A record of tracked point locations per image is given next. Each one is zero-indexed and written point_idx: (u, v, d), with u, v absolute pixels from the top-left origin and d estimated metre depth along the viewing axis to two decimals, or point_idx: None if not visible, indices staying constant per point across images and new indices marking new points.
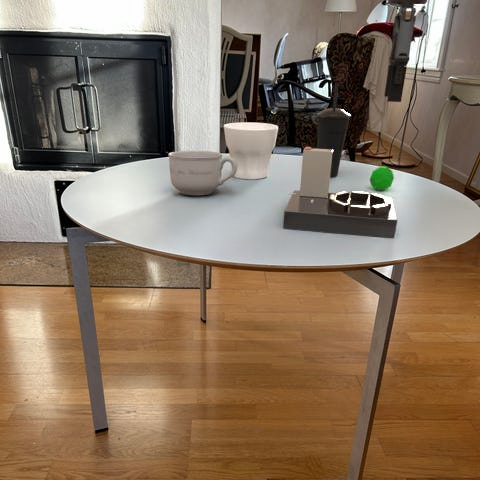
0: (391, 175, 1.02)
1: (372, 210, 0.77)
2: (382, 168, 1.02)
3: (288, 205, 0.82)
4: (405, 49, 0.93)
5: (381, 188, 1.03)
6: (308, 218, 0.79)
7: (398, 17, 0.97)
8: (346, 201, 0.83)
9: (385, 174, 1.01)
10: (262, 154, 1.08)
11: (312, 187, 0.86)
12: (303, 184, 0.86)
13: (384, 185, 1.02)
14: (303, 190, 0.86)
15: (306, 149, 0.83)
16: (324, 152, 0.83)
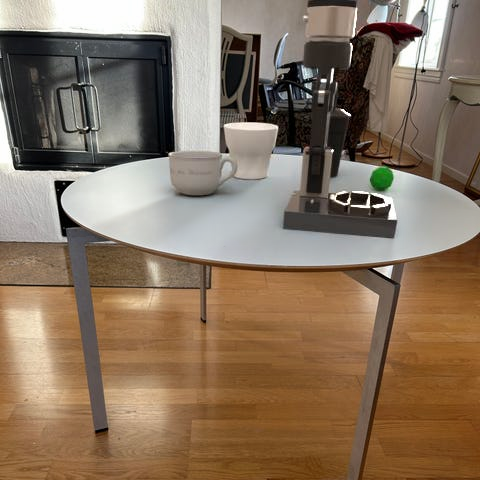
0: (391, 175, 1.02)
1: (372, 210, 0.77)
2: (382, 168, 1.02)
3: (288, 205, 0.82)
4: (319, 141, 0.78)
5: (381, 188, 1.03)
6: (308, 218, 0.79)
7: (315, 84, 0.77)
8: (346, 201, 0.83)
9: (385, 174, 1.01)
10: (262, 154, 1.08)
11: None
12: (303, 184, 0.86)
13: (384, 185, 1.02)
14: (303, 190, 0.86)
15: (306, 149, 0.83)
16: None
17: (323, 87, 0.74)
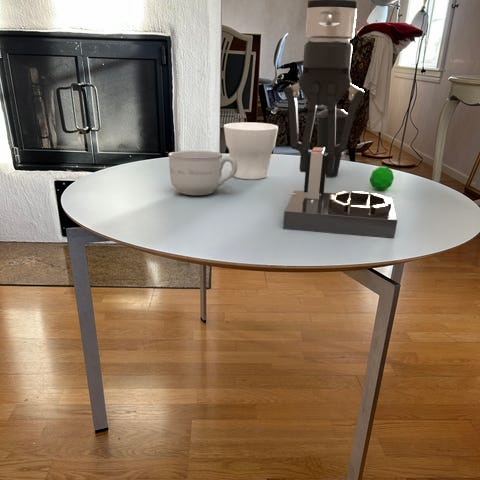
0: (391, 175, 1.02)
1: (372, 210, 0.77)
2: (382, 168, 1.02)
3: (288, 205, 0.82)
4: None
5: (381, 188, 1.03)
6: (308, 218, 0.79)
7: (335, 85, 0.77)
8: (346, 201, 0.83)
9: (385, 174, 1.01)
10: (262, 154, 1.08)
11: None
12: (319, 186, 0.85)
13: (384, 185, 1.02)
14: None
15: (322, 151, 0.82)
16: (324, 150, 0.84)
17: (356, 87, 0.78)
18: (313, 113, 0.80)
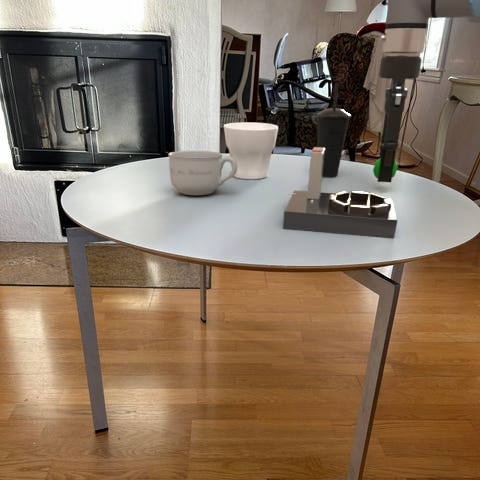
0: (395, 165, 1.00)
1: (372, 210, 0.77)
2: None
3: (288, 205, 0.82)
4: (394, 137, 0.93)
5: None
6: (308, 218, 0.79)
7: (389, 91, 0.94)
8: (346, 201, 0.83)
9: None
10: (262, 154, 1.08)
11: (320, 186, 0.86)
12: (319, 186, 0.85)
13: None
14: (319, 192, 0.85)
15: (322, 151, 0.82)
16: (324, 150, 0.84)
17: (399, 91, 0.91)
18: (386, 113, 0.99)
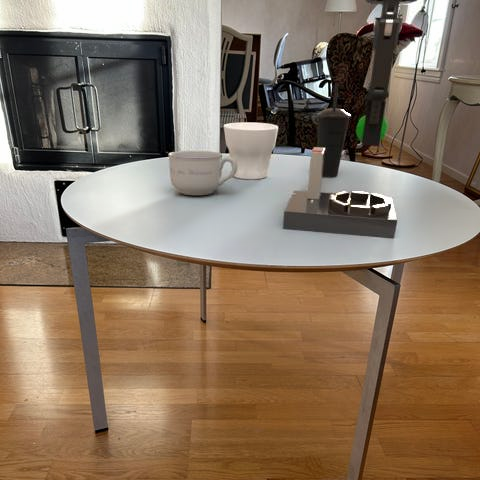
0: (384, 123, 0.77)
1: (372, 210, 0.77)
2: None
3: (288, 205, 0.82)
4: (382, 81, 0.70)
5: None
6: (308, 218, 0.79)
7: (378, 20, 0.70)
8: (346, 201, 0.83)
9: None
10: (262, 154, 1.08)
11: (320, 186, 0.86)
12: (319, 186, 0.85)
13: None
14: (319, 192, 0.85)
15: (322, 151, 0.82)
16: (324, 150, 0.84)
17: (390, 17, 0.67)
18: None
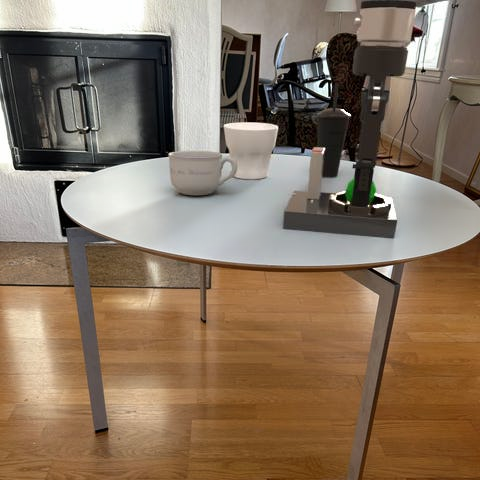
0: (372, 188, 0.78)
1: (372, 210, 0.77)
2: None
3: (288, 205, 0.82)
4: (370, 153, 0.71)
5: None
6: (308, 218, 0.79)
7: (365, 92, 0.71)
8: (346, 201, 0.83)
9: None
10: (262, 154, 1.08)
11: (320, 186, 0.86)
12: (319, 186, 0.85)
13: None
14: (319, 192, 0.85)
15: (322, 151, 0.82)
16: (324, 150, 0.84)
17: (377, 93, 0.68)
18: None
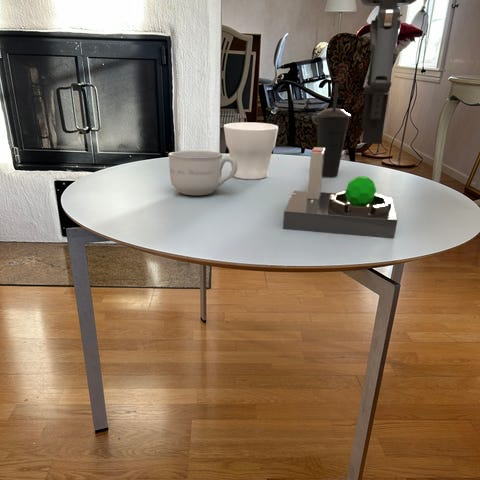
0: (372, 188, 0.78)
1: (372, 210, 0.77)
2: (361, 178, 0.78)
3: (288, 205, 0.82)
4: (385, 70, 0.63)
5: (360, 204, 0.79)
6: (308, 218, 0.79)
7: (375, 22, 0.67)
8: (346, 201, 0.83)
9: (364, 187, 0.77)
10: (262, 154, 1.08)
11: (320, 186, 0.86)
12: (319, 186, 0.85)
13: (363, 200, 0.78)
14: (319, 192, 0.85)
15: (322, 151, 0.82)
16: (324, 150, 0.84)
17: None
18: (372, 52, 0.73)
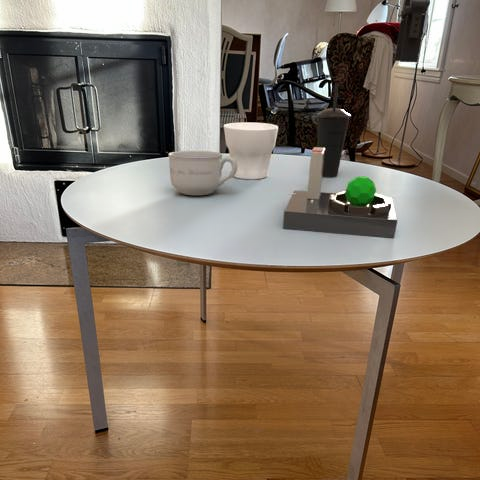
0: (372, 188, 0.78)
1: (372, 210, 0.77)
2: (361, 178, 0.78)
3: (288, 205, 0.82)
4: None
5: (360, 204, 0.79)
6: (308, 218, 0.79)
7: None
8: (346, 201, 0.83)
9: (364, 187, 0.77)
10: (262, 154, 1.08)
11: (320, 186, 0.86)
12: (319, 186, 0.85)
13: (363, 200, 0.78)
14: (319, 192, 0.85)
15: (322, 151, 0.82)
16: (324, 150, 0.84)
17: None
18: None
